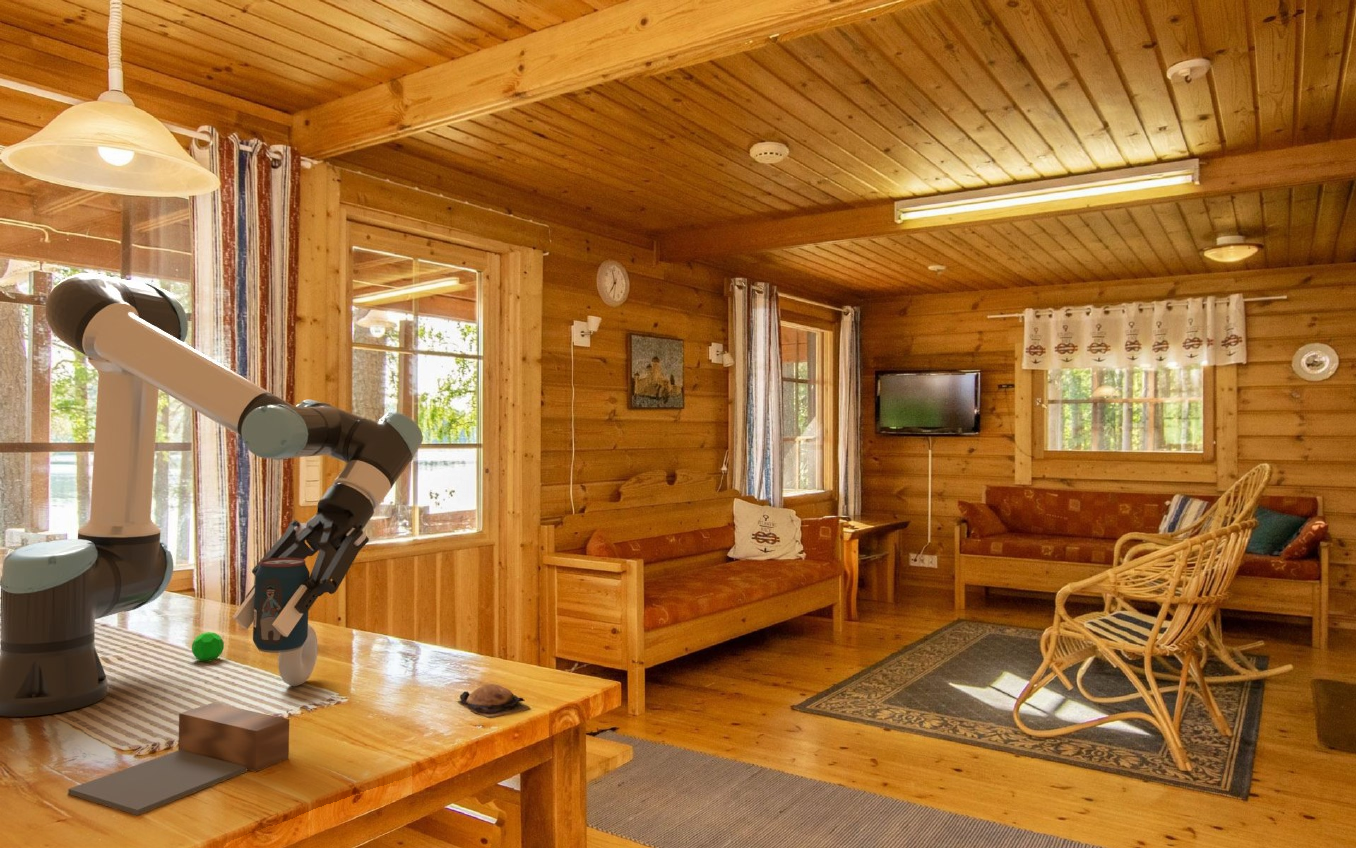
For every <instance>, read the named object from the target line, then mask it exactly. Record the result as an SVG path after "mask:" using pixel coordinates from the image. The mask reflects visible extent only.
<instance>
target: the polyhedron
mask: <svg viewBox="0 0 1356 848" xmlns="http://www.w3.org/2000/svg"><path fill="white" fill-rule="evenodd" d="M224 644H225V642H224V641H223V638H222V637H221V635H219V634H218V633H216V632H210V631H207V632H203V633H201V634H199V635H198V636H197V637H196V638H195V639H194V640H193V641H192V645H191V652H192V655H193V656H194V658H196V660H198V661H200V662H212V661H214V660H216V659H218V658H219V657H220V656H221V654H222V653H223V650H224V648H225V645H224Z"/></svg>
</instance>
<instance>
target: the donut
mask: <svg viewBox="0 0 1356 848" xmlns="http://www.w3.org/2000/svg"><path fill="white" fill-rule="evenodd" d="M318 647H319V643H318V638H317V633H316V631H315V628H313V626H311V625H310V624H309V623H308V637H307V639H306V641H305V642H304V644H303V646H302V647H301V648H300V649H298V650H294V651H290V652H282V653H278V659H277V661H278V663H277V664H278V665H277V666H278V671H279V675H280V678H281V680H283V682H284V683H285V684H287V685H289V686H291V687H297V686H301V685H303V684H305V682H307V681H308V679H309V678H310V676H311V675H312V673H313V671H314V670H315V669H314V668H315V665H316V661H317V657H318V649H319V648H318Z"/></svg>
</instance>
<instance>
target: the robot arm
mask: <svg viewBox="0 0 1356 848" xmlns="http://www.w3.org/2000/svg"><path fill="white" fill-rule="evenodd" d="M44 306H45V307H44V311H45V315H44V316H45V319H46V321H47V324H48V327H49V329H50V330H51V332H52V333H53V334H54V335H55V337H57V338H58V339H59V340H60V341H62V342H63V343H64V344H66V345H67V346H69V347H71V348H72V349H74V350H75V351H76V352H77V351H78V352H79V353H81V354H83V355H85V356H86V357H87V358H88V359H87V362H88V363H89V364H90V365H91V366H92V367H93V368H94V369H95V370H96V371H97V373H98V379H97V380H98V381H97V394H96V413H95V428H94V429H95V430H94V444H93V445H94V446H93V463H92V481H91V496H90V513H89V520H88V521H87V522H86V523H85V524H84V525H82V526H81V527H80V528H78V530H77V538H74V539H73V538H70V539H69V538H67V539H66V538H65V539H56V540H51V541H42V542H37V543H32V544H28V545H24V546H22V547H19V548H16V549H14V550H13V551H11V552H9V553H8V554H7V555H6V557H5V558H4V559H3V562H2V569H1V570H2V573H1V576H0V717H13V718H14V717H15V718H18V717H35V716H46V715H52V714H57V713H64V712H69V711H73V710H77V709H81V708H84V707H88V706H90V705H93V704H95V703H97V702H99V701H102V700H103V699H104V698H105V697H106V696H107V695H108V678H107V675H106V673H105V670H104V668H103V667H104V666H103V664H102V662H101V660H100V656H99V654H98V651H97V649H96V644H95V642H96V641H95V637H96V636H95V633H96V628H95V627H96V620H98V619H102V618H106V617H109V616H112V615H116V614H119V613H125V612H130V611H134V610H137V609H139V608H141V607H143V606H145V605H147V604H150V603H152V602H154V601H155V600H157V599H158V598H159V597H160V596H161V595H163V593H164V592H166V590H167V588H168V586H169V585H170V583H171V581H172V577H173V575H174V574H173V573H174V560H173V555H172V553H171V551H170V550H168V549H167V548H168V547H167V546H168V545H166V543H164V541H162V540H161V529H160V527H158V525H156V524H155V523H154V522H153V520H152V502H153V486H154V471H155V469H154V467H155V452H156V438H157V437H156V436H157V423H158V421H157V419H158V406H159V404H158V403H159V391H161V392H163V393H165V394H166V395H169V397H172V398H173V399H175V400H177V401H178V402H181V403H182V404H183V405H186V406H187V407H189V408H191V409H193V410H194V411H196V412H198V413H199V414H201V415H202V416H204V417H206V418H208V419H210V420H212V421H213V422H215V423H217V424H219V425H220V426H221V427H224V428H226V429H227V430H229V431H231V432H232V433H234V434H236V435H238V436H240V437H241V438H242V441H243V443H244V444H245V446H246V448H247V450H248V451H249V452H251V453H252V454H253V455H255V456H256V457H259V458H261V459H271V460H276V461H280V460H281V461H282V460H285V459H286V460H287V459H292V458H294V459H295V458H301V457H305V458H307V457H318V456H327V457H330V458H334V459H336V460H338V461H342V462H345V463H346V464H345V466H344V467H343V468H342V469H341V471H340V472H339V473H338V474H337V476H336V477H335V479H334V480H333V482H332V485H330V486H329V487H328V488H327V490H326V491H325V493H323V495H322V497H320V499H319V500H318V502H317V510H316V511H317V512H316V514H315V515H314V516H313V517H311V518H310V519H308V521H306V522H303V523H302V522H301V523H300V522H299V521H298V520H297V519H293V520H291V521H290V523H289V524H288V527H287V529H286V531H285V532H284V533H283V535H282V536H281V537H280V538H279V539H278V540H277V541H276V542H275V544H273V546H272V547H271V548H270V549H269V550H268V552H267V553H266V554H265V555H264V556H263V557H262V558H261V559H260V561H259V562H258V563H257V564H256V565H255V566H254V567H253V568H252V570H251V573H252V574H253V575H254V576H255V574H256V572H257V570H258V568H259V567H260V565H261V564H260V562H261V561H262V560H265V559H270V558H283V557H290V558H301V559H304V560H306V558H308V557H313V556H315V554H316V553H317V555H316V559H315V562H314V564H313V567H312V570H311V573H310V577H309V579H306V580H304V582H305V583H306V584H307V585H308V588H307V587H306V586H305V585H301V586H300V587H299V588H298V590H297V591H296V592H295V593H294V595H293V596H292V598H291V599H290V600H289V602H288V603H287V605H286V606H285V607H284V609H283V610H282V611H281V613H280V614H279V616H278V617H277V618H276V620H275V621H274V623H273V624H272V625H273V626H274V627H275V628H276V629H277V630H278V631H279V632H280V633H281V634H282V635H283V636H285V637H288V635H289V634H290V632H291V631H292V630H293V628H294V627H295V625H296V624H297V622H298V621H299V620H300V618H301V617H302V615H303V614H305V613H307V612H308V613H309V610H310V609H311V607H312V606H313V605H314V603H315V602H316V600H317V599H318V598H319V597H321V596H323V595H324V594H326V593H329V595H333V594H335V593H336V592H337V590H338V589H339V587H340V585H341V584H342V582H343V580H344V578H345V577H346V575H347V573H348V572H349V569H350V568H351V567H352V565H353V563H354V561H355V559H356V558H357V556H358V554H359V552H360V551H361V550H362V549H363V548H364V547H365V546H366V545H367V544H368V542H369V541H370V538H369V537H368V536H367V534H366V533H365V532H364V528H365V527H366V525H367V524H368V523H369V521H370V520H371V518H372V517H373V515H374V514H375V511H376V510H377V509H378V508H379V507H380V505H381V503H383V501H384V500H385V498H386V497H387V495H388V493H389V492H390V491H391V489H392V488H393V486H394V485H395V483H396V482H397V480H398V479H399V477H400V476H401V475H402V474H403V473H404V471H405V470H406V468H407V467H408V465H409V464H410V463H411V462H412V461H413V460H414V458H415V455H416V454H417V452H418V450H419V449H420V447H421V445H422V443H423V440H424V435H423V432H422V430H421V428H420V426H419V425H418V423H416V422H415V421H414V420H413V419H412V418H411V417H409V416H407V415H405V414H402V413H399V412H388V413H386V414H384V415H382V417H380V418H379V420H378V421H374V420H372V419H369V418H365V417H362V416H359V415H357V414H354V413H351V412H348V411H346V410H343V409H340V408H339V407H335V406H332V405H331V404H329V403H327V402H320V401H318V400H314V399H305V400H302V401H301V402H300V403H298V404H296V405H293V404H291V403H289V402H287V401H286V400H284V399H282V398H280V397H279V396H276V395H275V394H273V393H272V392H270V391H268V390H267V389H266V388H263V387H262V386H260V385H258V384H256V383H255V382H253V381H251V380H249V379H247V378H245V377H244V376H242V375H240V374H239V373H238V372H235V371H234V370H231V369H230V368H228V367H226V366H224V365H222V364H221V363H220V362H217V361H216V360H214V359H212V358H211V357H208V355H205V354H203V353H202V352H200V351H198V350H196V349H194V348H193V347H191V346H189V345H188V344H186V343H185V342H186V338H187V336H188V331H189V323H188V316H187V313H186V311H185V309H184V307H183V305H182V303H181V302H180V301H179V300H178V299H177V298H176V297H175V295H174V294H172V293H171V292H169V291H167V290H166V289H163V288H161V287H157V286H155V285H153V284H150V283H146V282H145V283H144V282H141V281H140V282H139V281H134V280H129V279H128V280H127V279H123V278H122V279H121V278H119V277H111V276H107V275H104V274H98V273H94V272H93V273H77V274H74V275H72V276H68V277H66V278H65V279H63V280H61V281H59V283H57V284H56V285H55V286H53V288H52V289H51V291H50V292H49V294H48V295H47V297H46V301H45V305H44ZM254 593H255V584H254V585H253V586H252V587H251V589H250V590H249V592H248V593H247V594H246V596H245V600H244V601H243V602H242V603H241V605H240V606H239V607H238V609H237V610H236V612H235V613H234V614H233V615H232V617H231V618H232V619H233V620H234V622H236V623H237V624H238V625H239V626H240V627H241V628H243V629H244V630H248V629H249V628H250V627H251V625H252V624H253V621H254Z"/></svg>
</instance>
